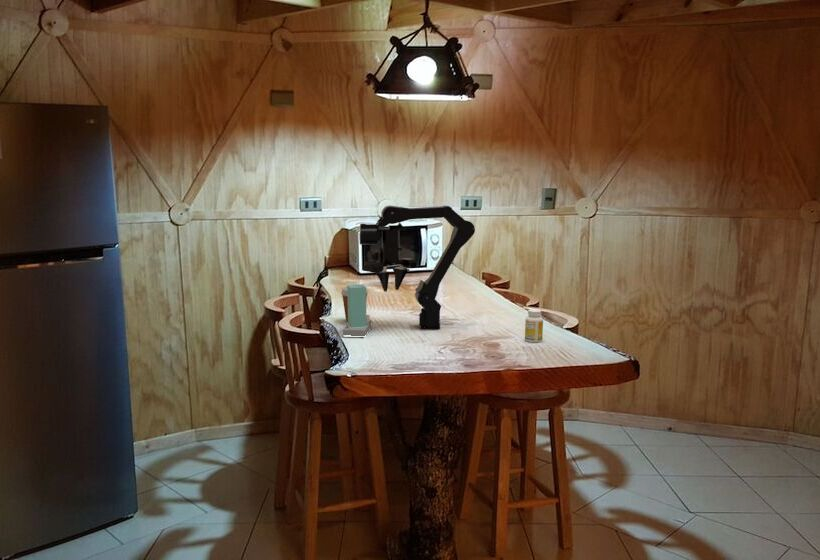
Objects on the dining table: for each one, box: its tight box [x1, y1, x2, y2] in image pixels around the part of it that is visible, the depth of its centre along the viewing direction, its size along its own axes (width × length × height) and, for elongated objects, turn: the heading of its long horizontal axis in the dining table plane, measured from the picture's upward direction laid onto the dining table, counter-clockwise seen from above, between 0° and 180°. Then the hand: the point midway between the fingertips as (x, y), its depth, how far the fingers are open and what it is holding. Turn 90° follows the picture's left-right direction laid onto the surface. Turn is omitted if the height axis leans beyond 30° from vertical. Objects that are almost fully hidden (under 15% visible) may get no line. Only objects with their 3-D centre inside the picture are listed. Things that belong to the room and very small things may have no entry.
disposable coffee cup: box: [340, 286, 369, 322], centre depth 219 cm, size 10×10×12 cm
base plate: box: [342, 314, 372, 336], centre depth 205 cm, size 8×14×4 cm, turn 175°
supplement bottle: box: [524, 308, 544, 343], centre depth 193 cm, size 5×5×10 cm
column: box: [346, 284, 367, 328], centre depth 202 cm, size 5×5×13 cm
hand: (391, 290), depth 208 cm, fingers open, 5 cm apart
